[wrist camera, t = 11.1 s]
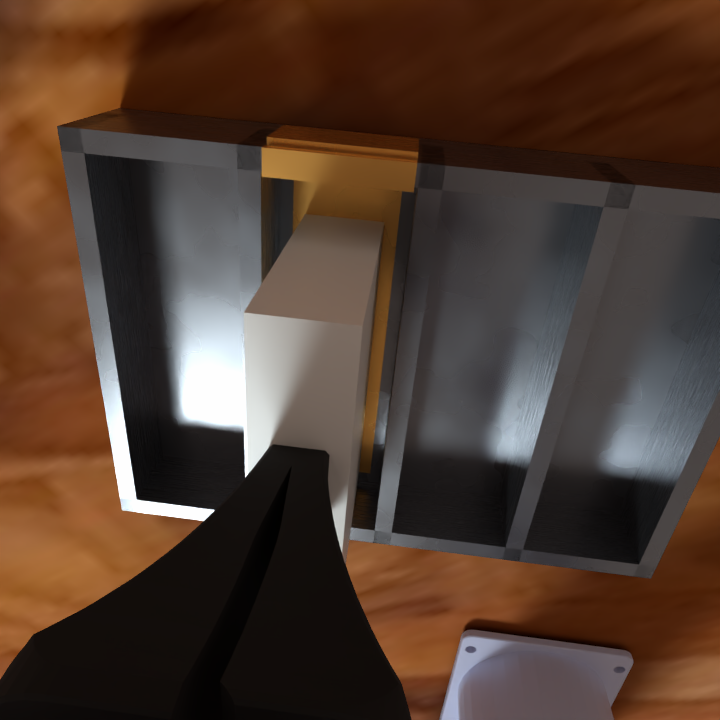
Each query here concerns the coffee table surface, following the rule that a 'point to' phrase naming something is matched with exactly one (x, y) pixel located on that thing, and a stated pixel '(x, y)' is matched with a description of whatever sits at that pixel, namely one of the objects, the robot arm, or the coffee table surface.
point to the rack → (416, 327)
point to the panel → (315, 351)
